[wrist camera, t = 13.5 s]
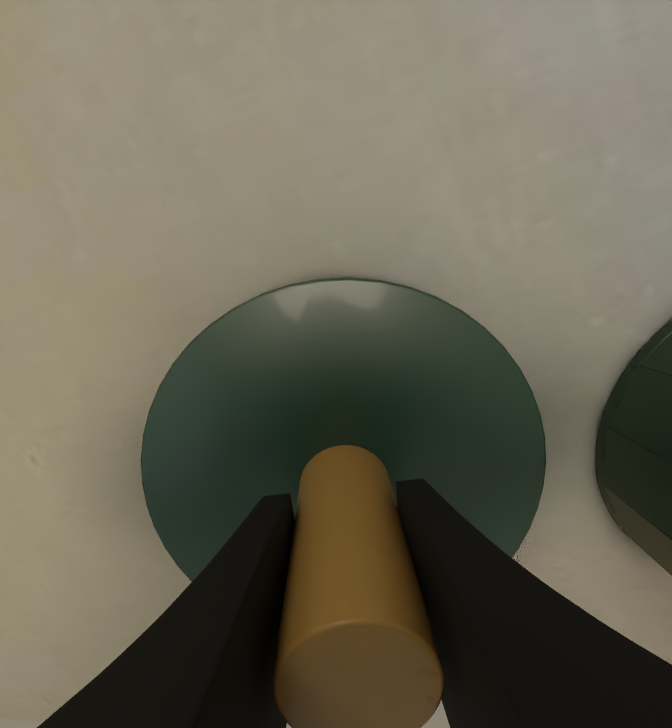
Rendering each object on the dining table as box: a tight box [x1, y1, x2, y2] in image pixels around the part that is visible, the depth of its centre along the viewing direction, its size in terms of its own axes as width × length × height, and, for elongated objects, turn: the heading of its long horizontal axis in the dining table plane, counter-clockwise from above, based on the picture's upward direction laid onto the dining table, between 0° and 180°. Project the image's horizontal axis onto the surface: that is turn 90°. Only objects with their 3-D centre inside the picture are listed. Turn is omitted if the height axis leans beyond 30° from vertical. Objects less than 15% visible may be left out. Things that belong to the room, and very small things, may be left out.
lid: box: [141, 277, 546, 728], centre depth 8 cm, size 11×11×6 cm
